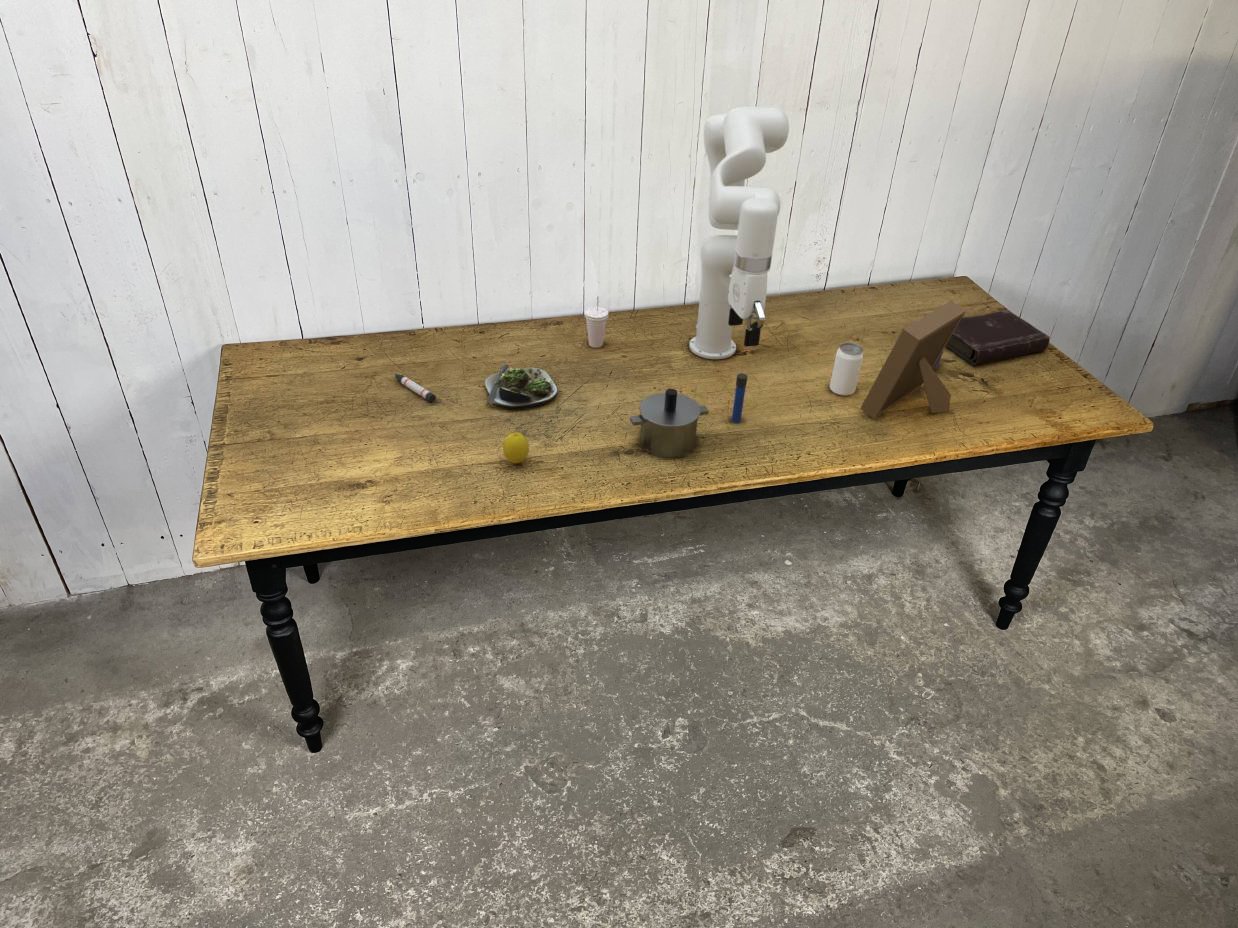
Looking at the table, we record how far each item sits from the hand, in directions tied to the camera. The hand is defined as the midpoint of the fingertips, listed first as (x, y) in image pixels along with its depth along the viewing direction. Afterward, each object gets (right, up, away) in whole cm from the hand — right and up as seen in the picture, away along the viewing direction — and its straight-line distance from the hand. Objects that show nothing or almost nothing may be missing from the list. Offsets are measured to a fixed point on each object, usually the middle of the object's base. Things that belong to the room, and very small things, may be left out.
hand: (742, 335), depth 188 cm
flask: (+55, -3, +42) cm, 69 cm away
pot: (-16, -23, +10) cm, 30 cm away
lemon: (-50, -28, +2) cm, 57 cm away
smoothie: (-33, +4, +46) cm, 57 cm away
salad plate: (-51, -11, +25) cm, 58 cm away
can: (+30, -9, +31) cm, 44 cm away
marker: (-78, -10, +25) cm, 82 cm away
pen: (+1, -18, +18) cm, 26 cm away
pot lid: (-16, -16, +5) cm, 23 cm away
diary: (+76, +5, +53) cm, 93 cm away
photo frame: (+45, -15, +25) cm, 53 cm away
